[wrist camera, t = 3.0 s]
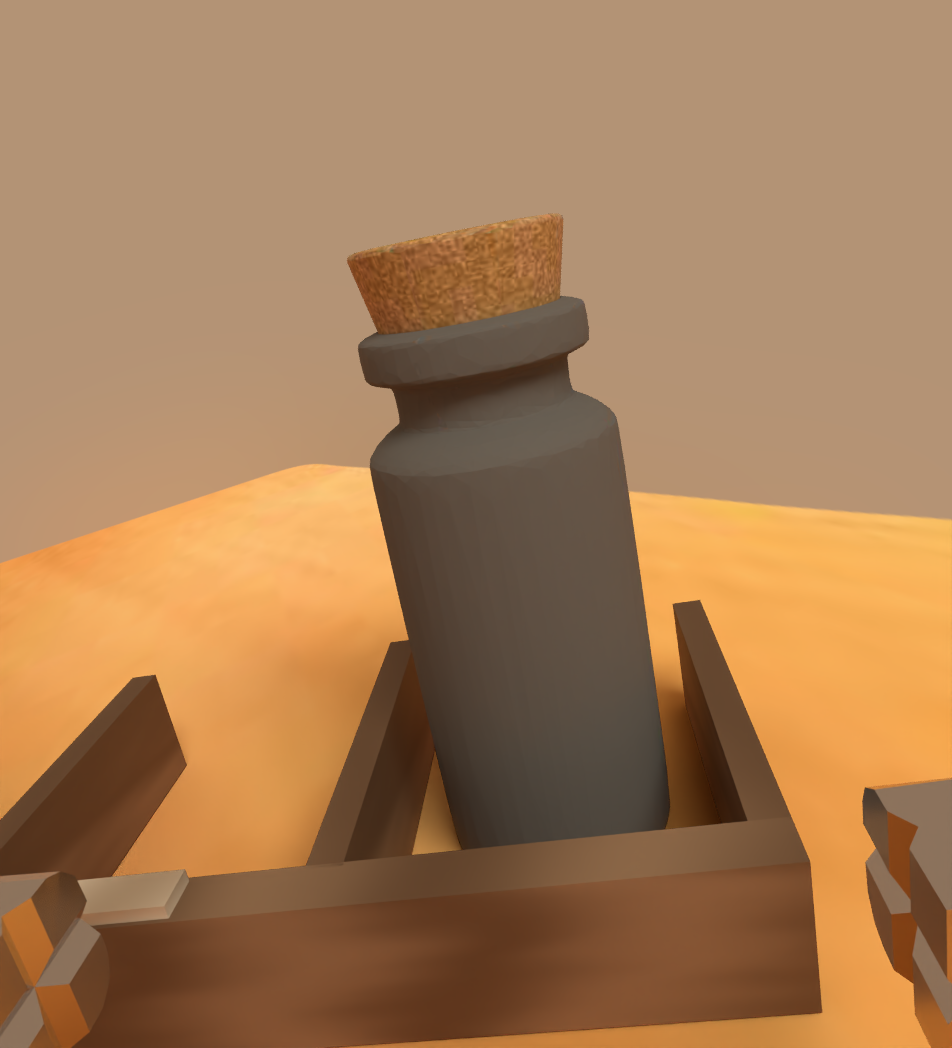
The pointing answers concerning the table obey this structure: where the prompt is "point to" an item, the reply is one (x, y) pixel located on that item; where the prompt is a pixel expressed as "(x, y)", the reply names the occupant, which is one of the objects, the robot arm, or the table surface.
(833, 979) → the table surface
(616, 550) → the bottle
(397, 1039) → the notched rack
